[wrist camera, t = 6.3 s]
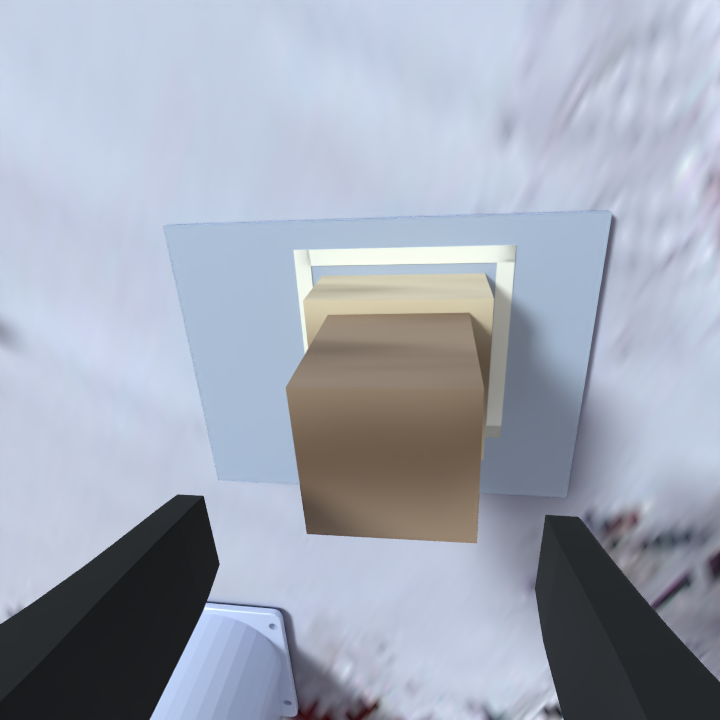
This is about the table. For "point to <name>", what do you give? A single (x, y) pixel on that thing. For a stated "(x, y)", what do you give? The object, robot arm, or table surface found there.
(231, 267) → the board
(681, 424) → the table surface
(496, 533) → the table surface
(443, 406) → the walnut block
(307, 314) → the oak slab
